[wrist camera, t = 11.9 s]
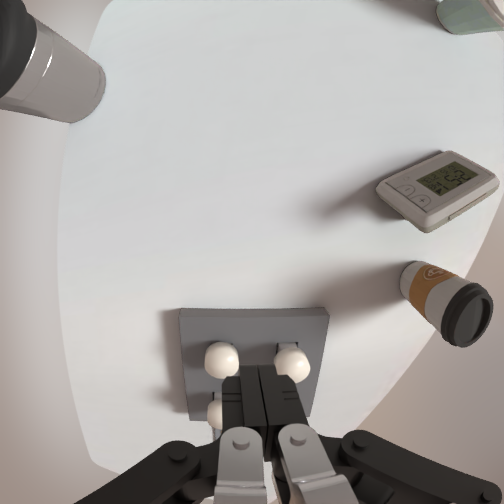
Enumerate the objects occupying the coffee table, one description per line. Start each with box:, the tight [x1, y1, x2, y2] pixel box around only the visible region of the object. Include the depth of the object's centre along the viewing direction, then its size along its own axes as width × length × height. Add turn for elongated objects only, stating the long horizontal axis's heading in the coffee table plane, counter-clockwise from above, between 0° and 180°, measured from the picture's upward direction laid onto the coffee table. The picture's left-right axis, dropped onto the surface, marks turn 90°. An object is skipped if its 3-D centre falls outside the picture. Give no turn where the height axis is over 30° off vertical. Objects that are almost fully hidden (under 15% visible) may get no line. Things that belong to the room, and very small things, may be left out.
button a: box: [205, 342, 239, 379], centre depth 39 cm, size 4×4×5 cm
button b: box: [207, 392, 222, 430], centre depth 40 cm, size 4×4×5 cm
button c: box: [274, 342, 310, 383], centre depth 38 cm, size 4×4×5 cm
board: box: [179, 308, 330, 421], centre depth 42 cm, size 20×20×2 cm
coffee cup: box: [400, 261, 493, 347], centre depth 35 cm, size 8×8×15 cm
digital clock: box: [376, 151, 500, 233], centre depth 33 cm, size 16×9×11 cm, turn 103°
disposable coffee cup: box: [436, 0, 504, 35], centre depth 23 cm, size 11×11×15 cm
